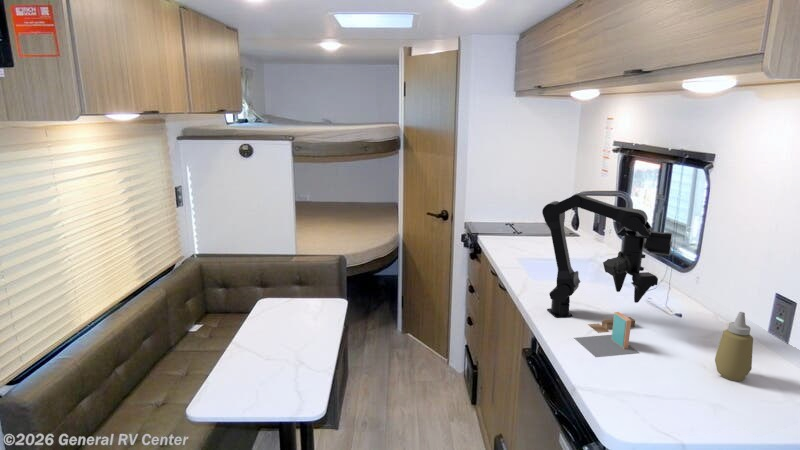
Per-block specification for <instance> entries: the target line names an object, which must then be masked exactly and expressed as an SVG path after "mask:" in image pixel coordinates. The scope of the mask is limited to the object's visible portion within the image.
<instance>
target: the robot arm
mask: <svg viewBox="0 0 800 450" xmlns="http://www.w3.org/2000/svg"><path fill="white" fill-rule="evenodd" d="M574 208H579V209H582V210H585V211H586V212H587V211H588V212H590V213H593V214H597V215H599V216H603V217H605V218H608V219H610V220H613V221H614V222H616V223H618V224H619V225H620V226H622V227H623V228H622V229H620V230H619V231H618V232H617V235H618V236H622V237H623V243H622V251H619V252H618V253H617V256H616V257H612V258H607V259H606V260H605V261H603V262H602V264H603V265H602V266H603V268H604V272H605V273H608V274H609V275H611V276H612V278H613V283H614V286H615V291H616V292H617V293H620V292H621V290H622V288H623V285H624V283H625V279H626V277H627V274H628V275H630V276H631V280H632V282H631V285H632V286H633V287H634V290H633V291H634V293H633V302H634V303H636V304H637V303H639V302H640V301H641V300H642V298H643V296H644V295H645V294H646V293H647V291H649V289H650V288H652V287H654V286H657V285H658V283H659V282H658V281H659V278H658V277H657V275H655V274H653V273H651V272H649V271H648V272H643V271H644V270H645V269H644V268H645V267H643V266H642V262H643V261H642V260H643V259H646V254H644V253H643V252H644V247H645V249H646V251H648V254H656V255H663V256H670V255H671V251H672V247H673V246H672V245H673V242H672V238H673V237H672V236H673V233H672V232H669V231H668V232H662V231H661V232H660V231H654V229H653V227H652V226H651V224H650V223H649V221H648V215H647V213H646V212H645V211H644V210H643V209H638V208H632V207H621V206H616V205H614V204H610V203H609V202H608V203H607V202H605V201H603V200H602V201H601V200H599V199H595V198H593V197H589V196H587V195H584V194H582V193H575V194H573V195H571V196H570V197H567V198H565V199H563V200H561V201H557V200H553V201H552V202H549V203H547V204H546V205H545V206H543V208H542V212H541V213H542V217H543V220H544V222H545V224H546V225H547V227H548V229H549V230H550V236H551V240H552V245H553V250H554V256H555V262H556V267H557V268H556V269H557V274H556V286H555V287H554V288H553V289H552V290H551V291H549V298H550V300H551V307H550V308H546V311H547V312H549V314H551V315H552V316H553V317H555V318H563V317H564V318H565V317H572V316H573V314H572V313H571V312H570V303H571V302H570V300H571V299H570V297H571V296H572V295H573V294H574V293H575V292H576V291H577V290H578V289H579V286H580V283H581V280H580V277H579V271H578V270H576V271H574V269H573V267H572V265H571V258H570V253H569V247H568V243H567V237H566V234H565V232H566V231H565V221H566V212H567V211H570V210H572V209H574ZM644 243H645V246H644Z"/></svg>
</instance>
